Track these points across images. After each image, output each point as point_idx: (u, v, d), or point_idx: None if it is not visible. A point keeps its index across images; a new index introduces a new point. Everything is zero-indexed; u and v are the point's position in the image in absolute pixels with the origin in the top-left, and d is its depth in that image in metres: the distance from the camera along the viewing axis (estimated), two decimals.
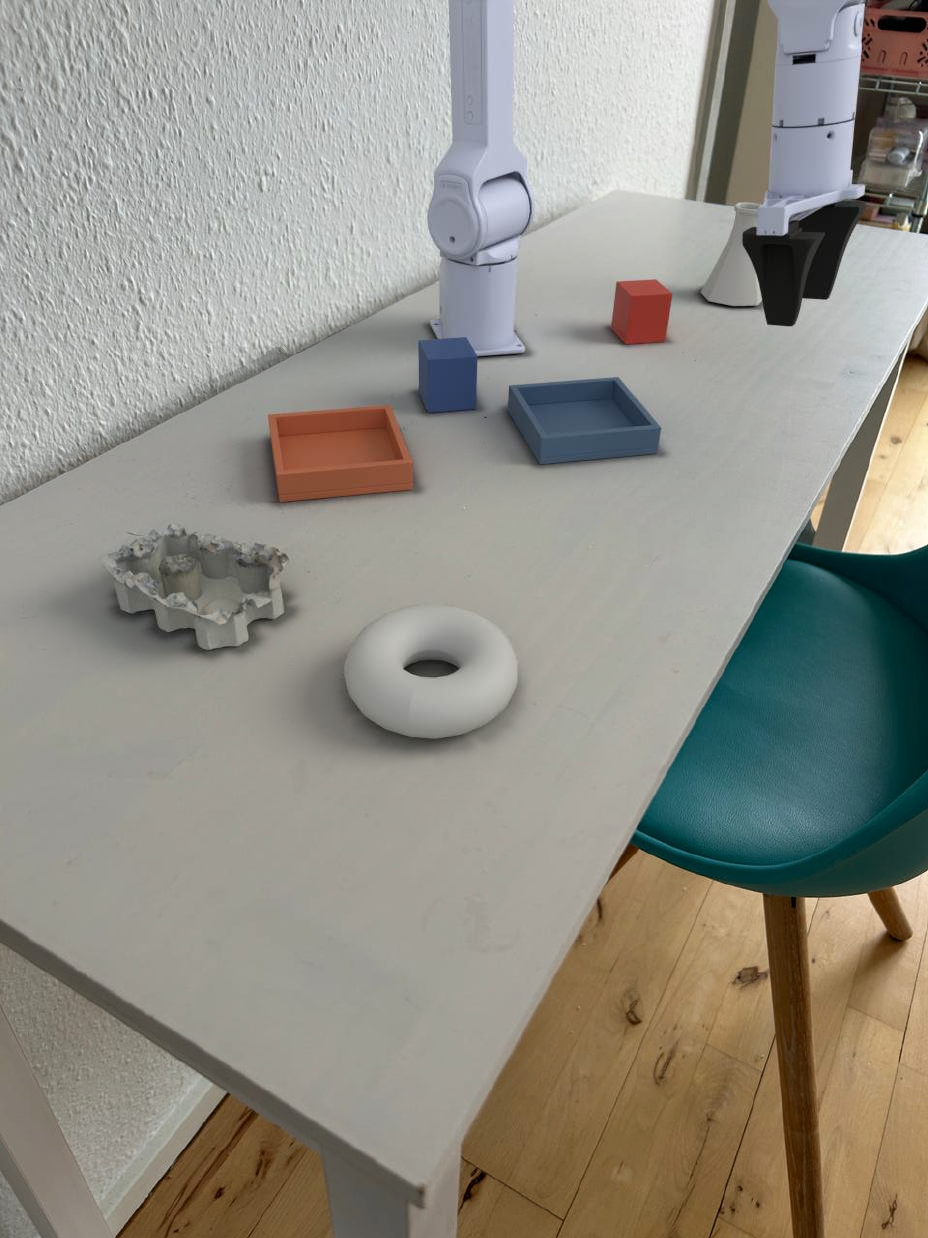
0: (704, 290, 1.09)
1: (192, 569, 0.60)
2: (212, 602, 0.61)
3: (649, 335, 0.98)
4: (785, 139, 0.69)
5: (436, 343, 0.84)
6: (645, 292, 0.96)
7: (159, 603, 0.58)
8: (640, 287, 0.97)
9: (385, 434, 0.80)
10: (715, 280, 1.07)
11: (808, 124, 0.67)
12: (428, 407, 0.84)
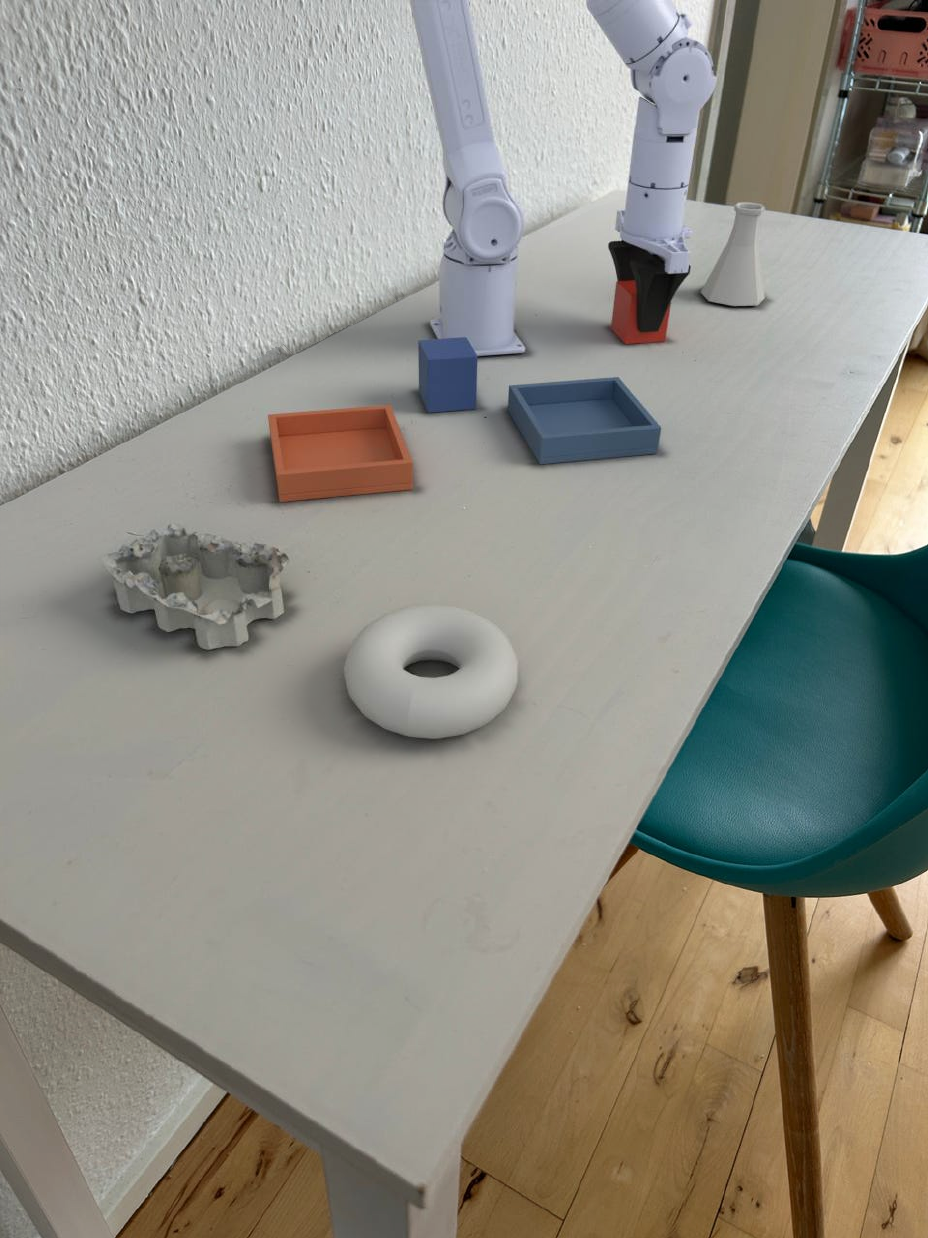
0: (704, 290, 1.09)
1: (192, 569, 0.60)
2: (212, 602, 0.61)
3: (649, 335, 0.98)
4: (658, 197, 0.89)
5: (436, 343, 0.84)
6: None
7: (159, 603, 0.58)
8: None
9: (385, 434, 0.80)
10: (715, 280, 1.07)
11: (676, 186, 0.89)
12: (428, 407, 0.84)
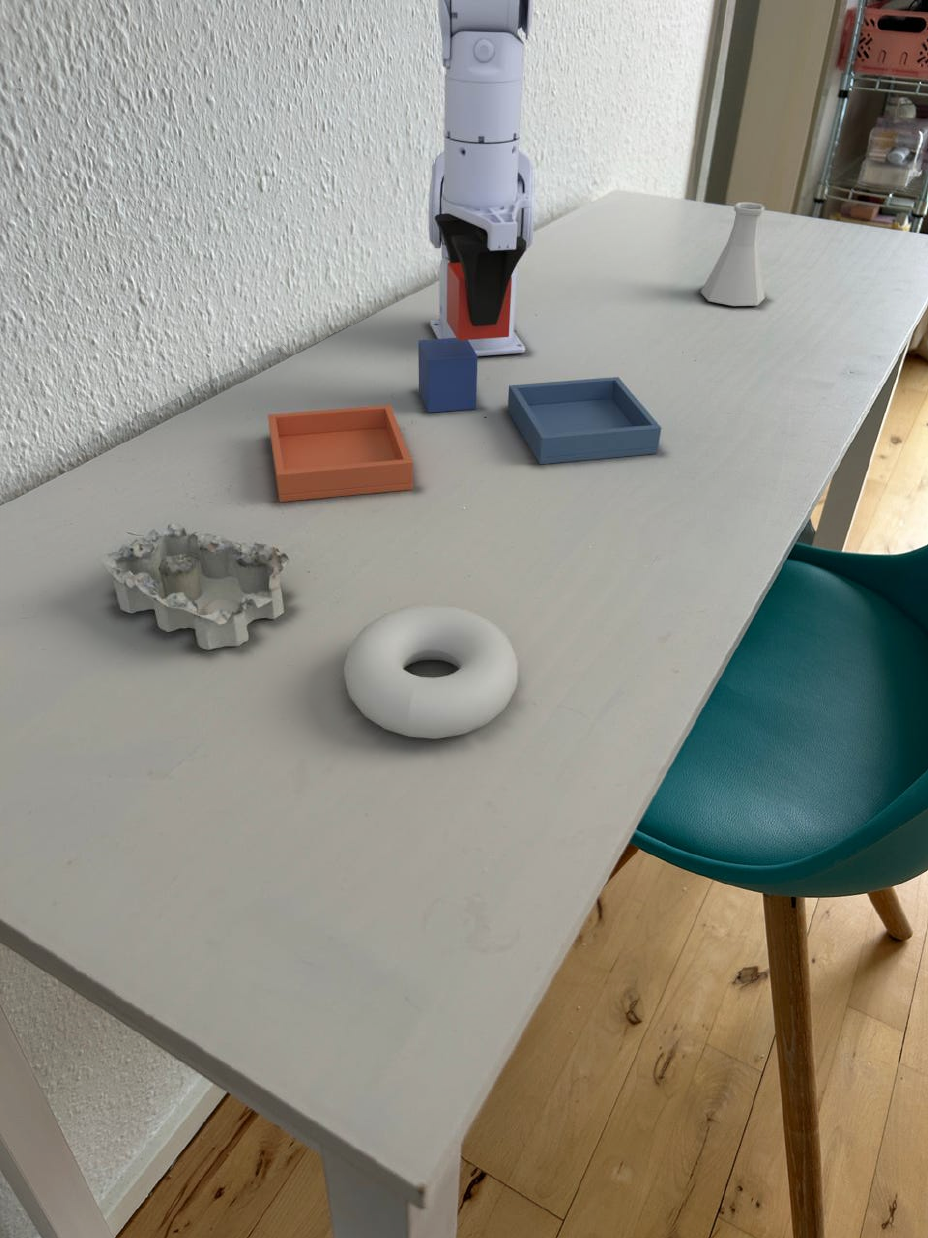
0: (704, 290, 1.09)
1: (192, 569, 0.60)
2: (212, 602, 0.61)
3: (487, 329, 0.79)
4: (477, 154, 0.70)
5: (436, 343, 0.84)
6: None
7: (159, 603, 0.58)
8: None
9: (385, 434, 0.80)
10: (715, 280, 1.07)
11: (500, 140, 0.70)
12: (428, 407, 0.84)
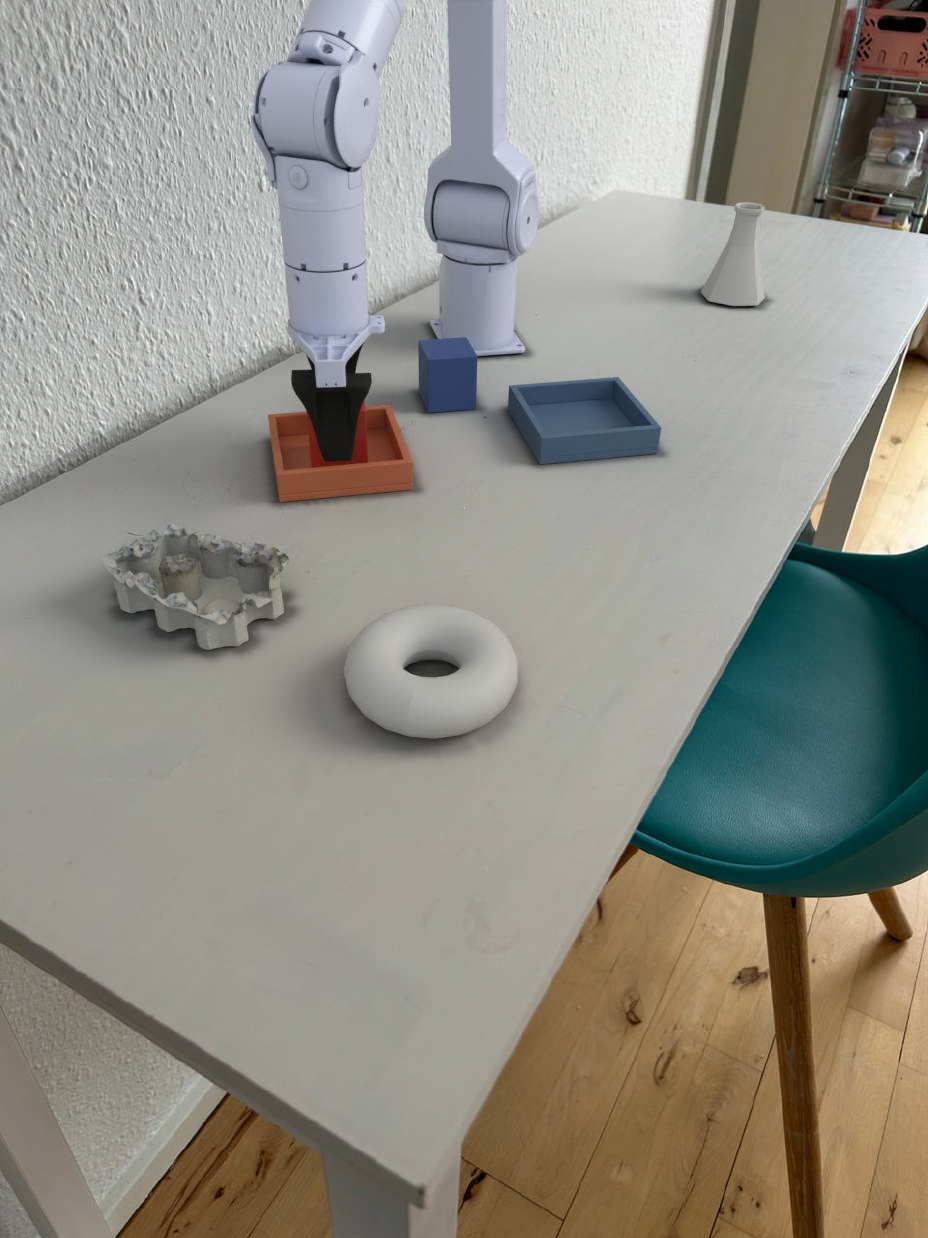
0: (704, 290, 1.09)
1: (192, 569, 0.60)
2: (212, 602, 0.61)
3: (343, 461, 0.74)
4: (311, 283, 0.65)
5: (436, 343, 0.84)
6: None
7: (159, 603, 0.58)
8: None
9: (385, 434, 0.80)
10: (715, 280, 1.07)
11: (334, 269, 0.65)
12: (428, 407, 0.84)
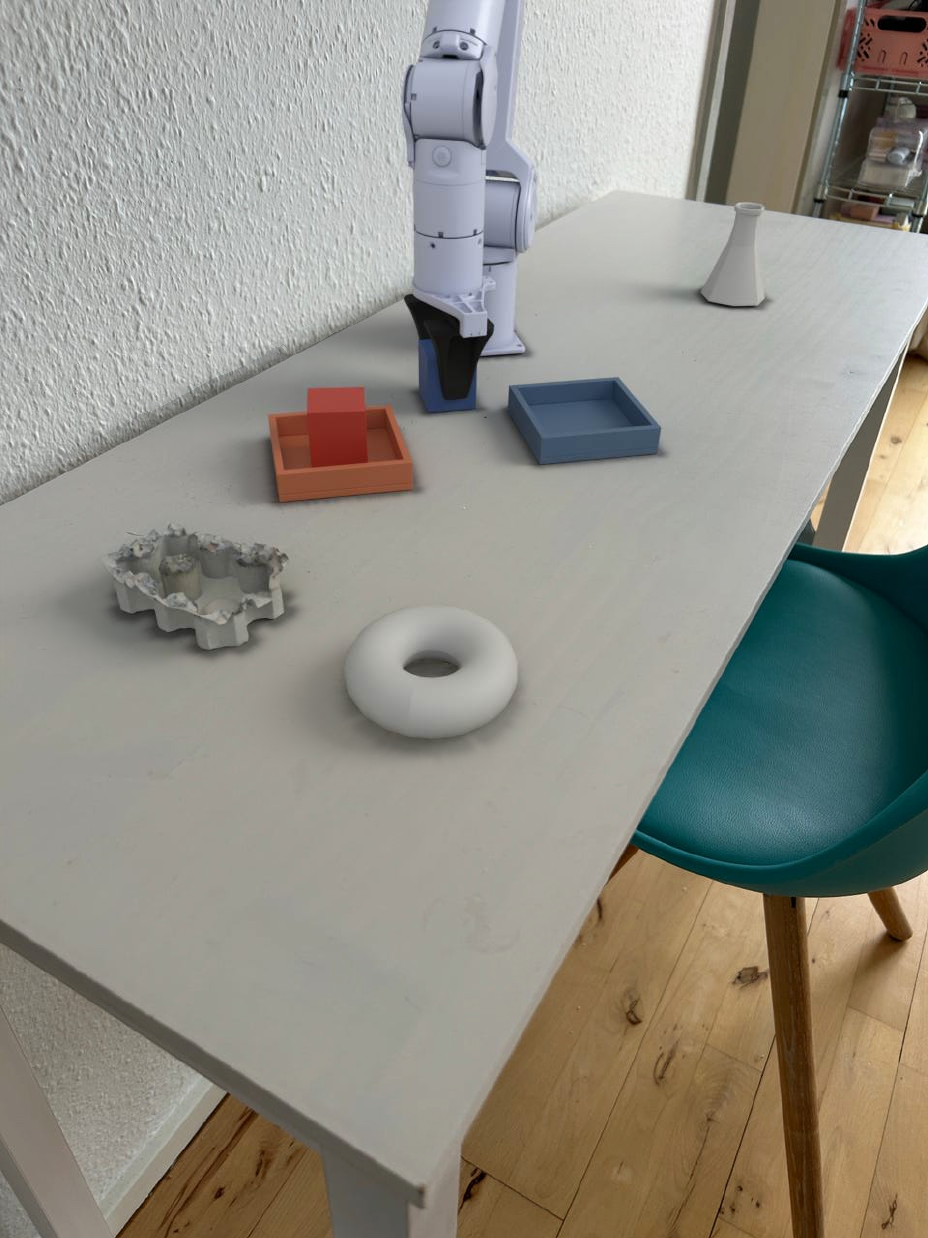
0: (704, 290, 1.09)
1: (192, 569, 0.60)
2: (212, 602, 0.61)
3: (343, 461, 0.74)
4: (446, 248, 0.75)
5: None
6: (330, 408, 0.72)
7: (159, 603, 0.58)
8: (330, 399, 0.73)
9: (385, 434, 0.80)
10: (715, 280, 1.07)
11: (467, 235, 0.75)
12: (428, 407, 0.84)
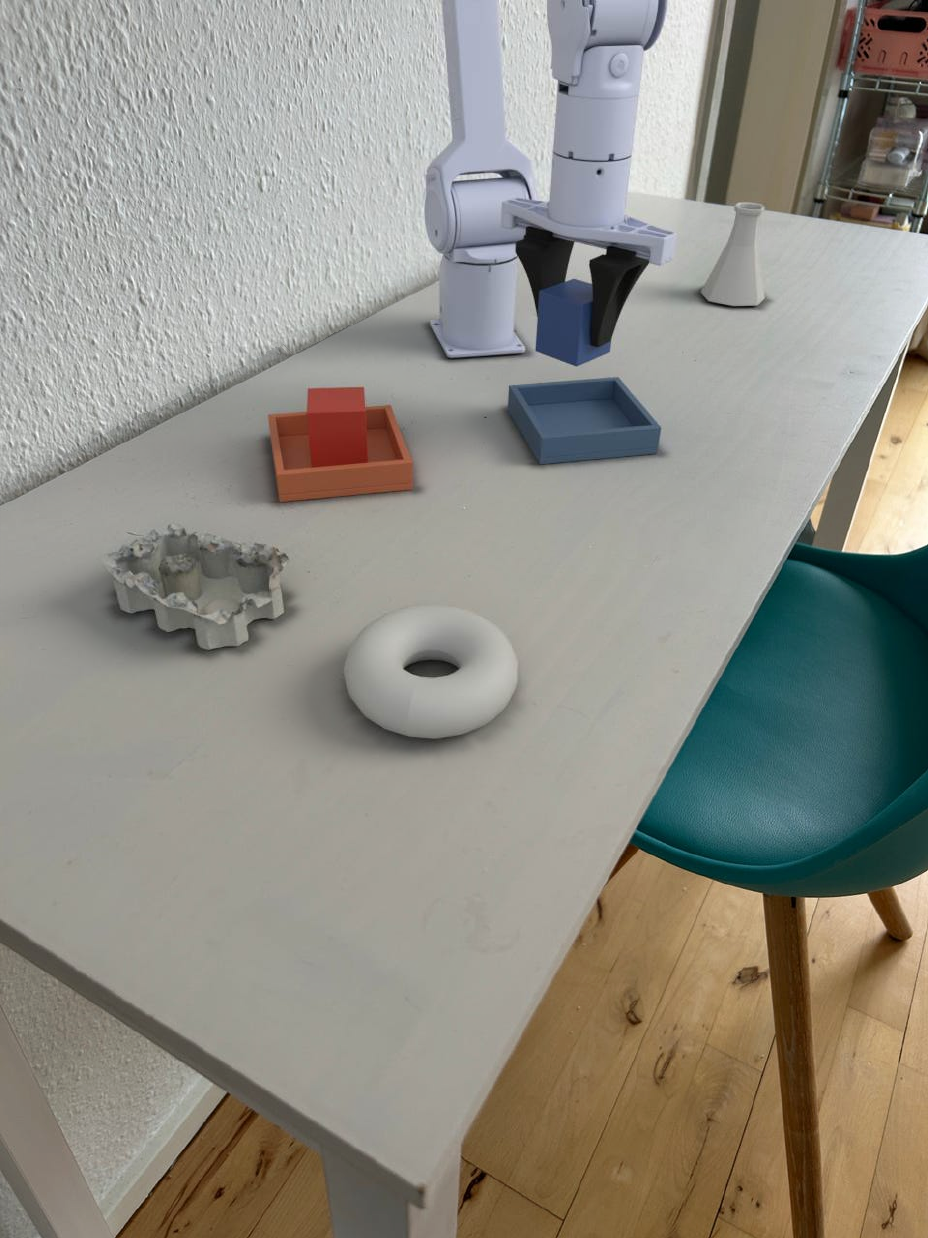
0: (704, 290, 1.09)
1: (192, 569, 0.60)
2: (212, 602, 0.61)
3: (343, 461, 0.74)
4: (615, 172, 0.68)
5: (562, 289, 0.75)
6: (330, 408, 0.72)
7: (159, 603, 0.58)
8: (330, 399, 0.73)
9: (385, 434, 0.80)
10: (715, 280, 1.07)
11: (630, 154, 0.68)
12: (577, 360, 0.76)
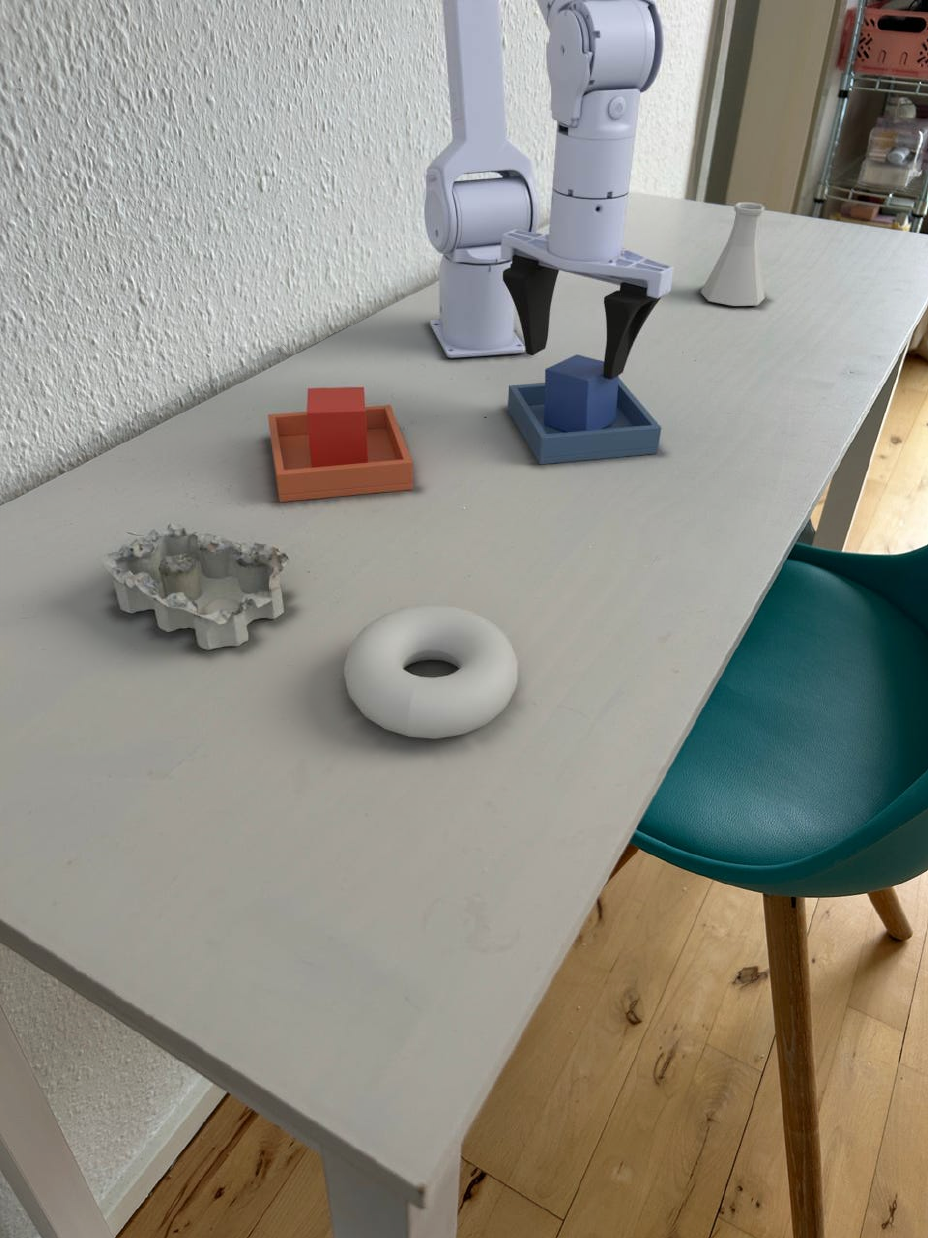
0: (704, 290, 1.09)
1: (192, 569, 0.60)
2: (212, 602, 0.61)
3: (343, 461, 0.74)
4: (613, 209, 0.70)
5: (566, 366, 0.79)
6: (330, 408, 0.72)
7: (159, 603, 0.58)
8: (330, 399, 0.73)
9: (385, 434, 0.80)
10: (715, 280, 1.07)
11: (627, 191, 0.70)
12: None
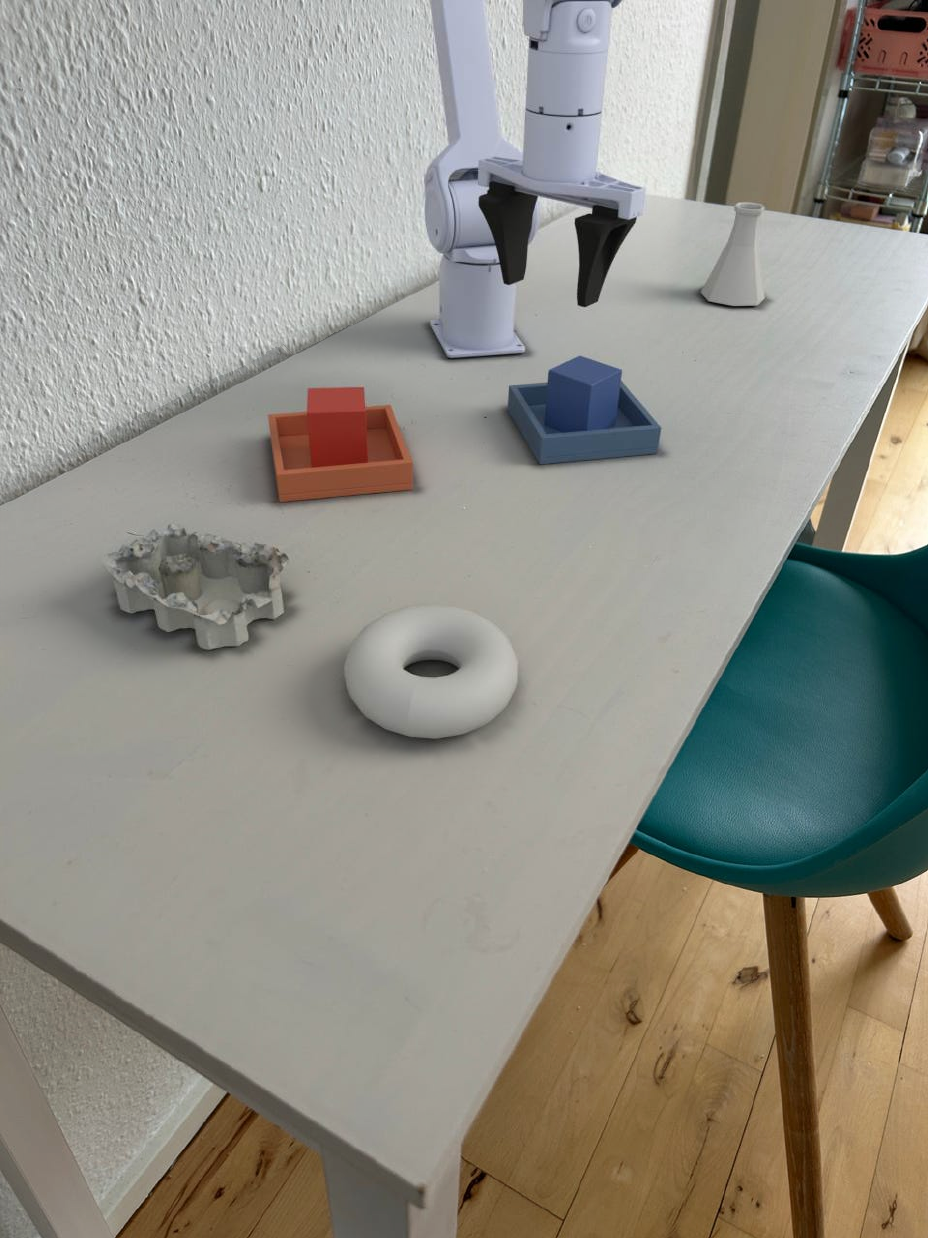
0: (704, 290, 1.09)
1: (192, 569, 0.60)
2: (212, 602, 0.61)
3: (343, 461, 0.74)
4: (584, 127, 0.69)
5: (569, 368, 0.79)
6: (330, 408, 0.72)
7: (159, 603, 0.58)
8: (330, 399, 0.73)
9: (385, 434, 0.80)
10: (715, 280, 1.07)
11: (599, 110, 0.70)
12: None
